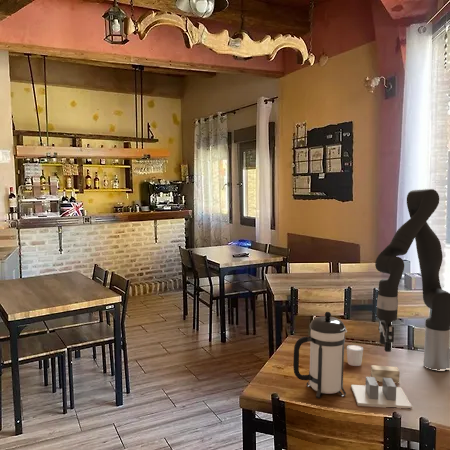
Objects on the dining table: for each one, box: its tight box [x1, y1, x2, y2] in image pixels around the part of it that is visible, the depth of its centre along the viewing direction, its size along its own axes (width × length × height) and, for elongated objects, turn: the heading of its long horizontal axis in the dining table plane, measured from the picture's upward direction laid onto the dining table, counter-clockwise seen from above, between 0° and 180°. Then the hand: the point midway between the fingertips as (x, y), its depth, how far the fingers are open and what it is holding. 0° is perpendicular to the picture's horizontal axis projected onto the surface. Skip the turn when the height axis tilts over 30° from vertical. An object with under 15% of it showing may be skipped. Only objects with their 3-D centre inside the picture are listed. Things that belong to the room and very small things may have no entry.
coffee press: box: [292, 311, 348, 399], centre depth 161 cm, size 17×16×30 cm
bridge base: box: [350, 376, 413, 409], centre depth 158 cm, size 18×14×6 cm
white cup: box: [346, 344, 364, 367], centre depth 188 cm, size 7×7×7 cm
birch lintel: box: [370, 364, 401, 384], centre depth 172 cm, size 10×4×5 cm, turn 80°
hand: (385, 347), depth 171 cm, fingers open, 8 cm apart
